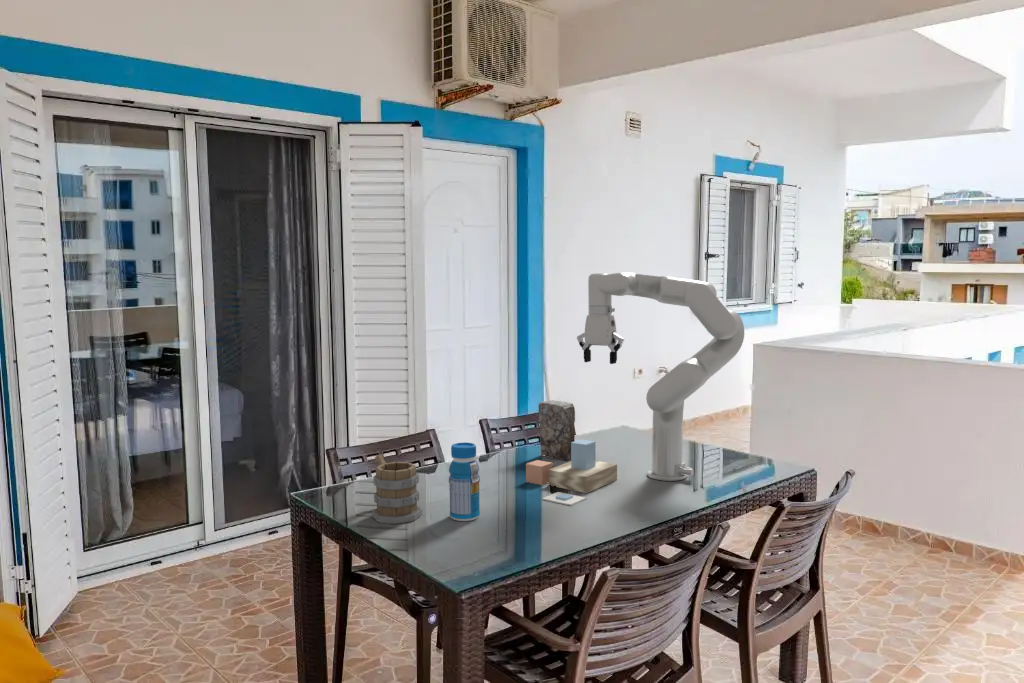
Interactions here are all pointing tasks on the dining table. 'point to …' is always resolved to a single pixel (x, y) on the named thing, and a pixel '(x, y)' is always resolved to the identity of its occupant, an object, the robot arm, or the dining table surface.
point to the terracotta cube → (538, 472)
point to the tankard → (396, 492)
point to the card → (564, 498)
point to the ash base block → (582, 476)
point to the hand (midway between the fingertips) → (600, 362)
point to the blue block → (583, 454)
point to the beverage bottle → (464, 483)
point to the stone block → (556, 428)
